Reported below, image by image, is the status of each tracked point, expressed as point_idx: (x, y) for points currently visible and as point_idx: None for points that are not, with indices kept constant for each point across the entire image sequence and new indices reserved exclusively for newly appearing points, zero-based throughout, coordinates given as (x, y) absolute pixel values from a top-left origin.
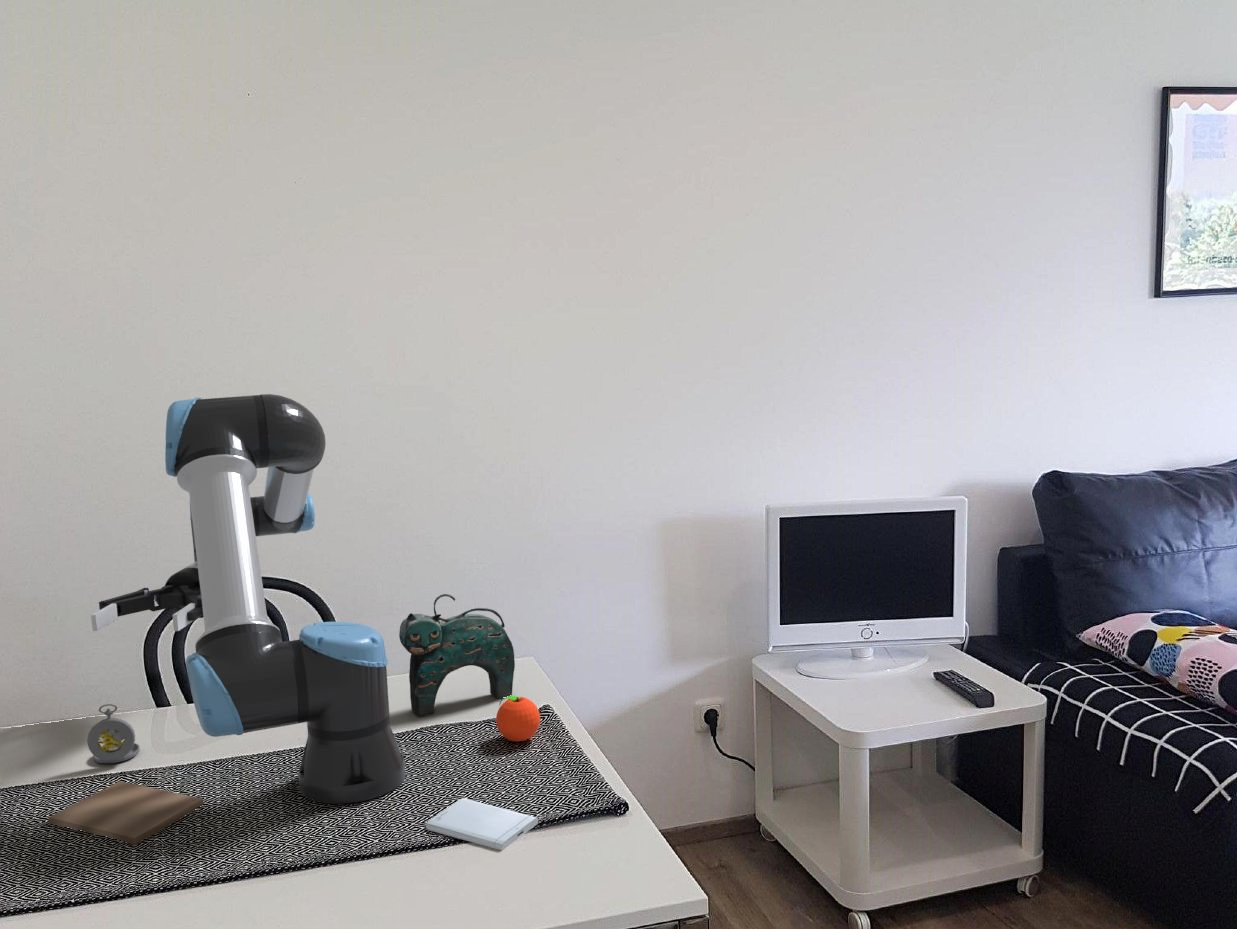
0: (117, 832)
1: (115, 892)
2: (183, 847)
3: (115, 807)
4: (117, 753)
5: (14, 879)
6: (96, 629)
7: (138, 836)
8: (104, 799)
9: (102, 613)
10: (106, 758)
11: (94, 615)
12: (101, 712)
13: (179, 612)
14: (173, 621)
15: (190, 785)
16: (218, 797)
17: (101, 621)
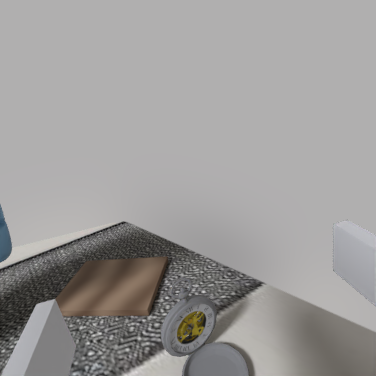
0: (101, 260)
1: (81, 240)
2: (52, 273)
3: (121, 278)
4: (185, 340)
5: (143, 230)
6: (333, 264)
7: (84, 263)
8: (139, 283)
9: (368, 252)
10: (197, 335)
11: (337, 224)
12: (190, 286)
13: (29, 327)
14: (62, 319)
15: None
16: None
17: (357, 269)
